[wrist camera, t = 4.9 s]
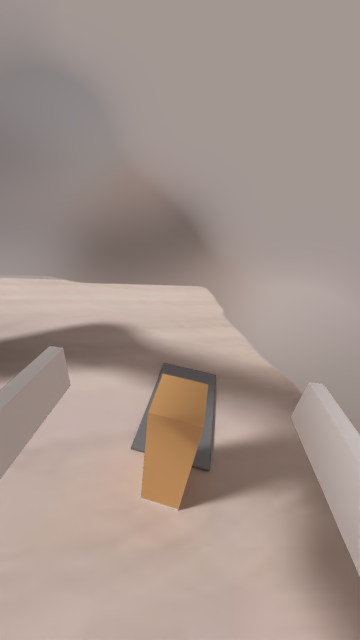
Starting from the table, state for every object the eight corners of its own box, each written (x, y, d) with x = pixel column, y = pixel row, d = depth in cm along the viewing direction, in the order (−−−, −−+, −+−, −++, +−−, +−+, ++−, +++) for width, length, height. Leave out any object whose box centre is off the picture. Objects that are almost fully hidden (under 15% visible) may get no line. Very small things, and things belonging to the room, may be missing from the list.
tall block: (178, 510, 24) (203, 427, 16) (140, 499, 25) (148, 412, 17) (184, 468, 28) (208, 384, 20) (152, 459, 29) (162, 373, 21)
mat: (209, 471, 28) (209, 469, 28) (131, 449, 29) (131, 447, 29) (215, 376, 44) (215, 375, 43) (164, 364, 45) (164, 362, 45)
